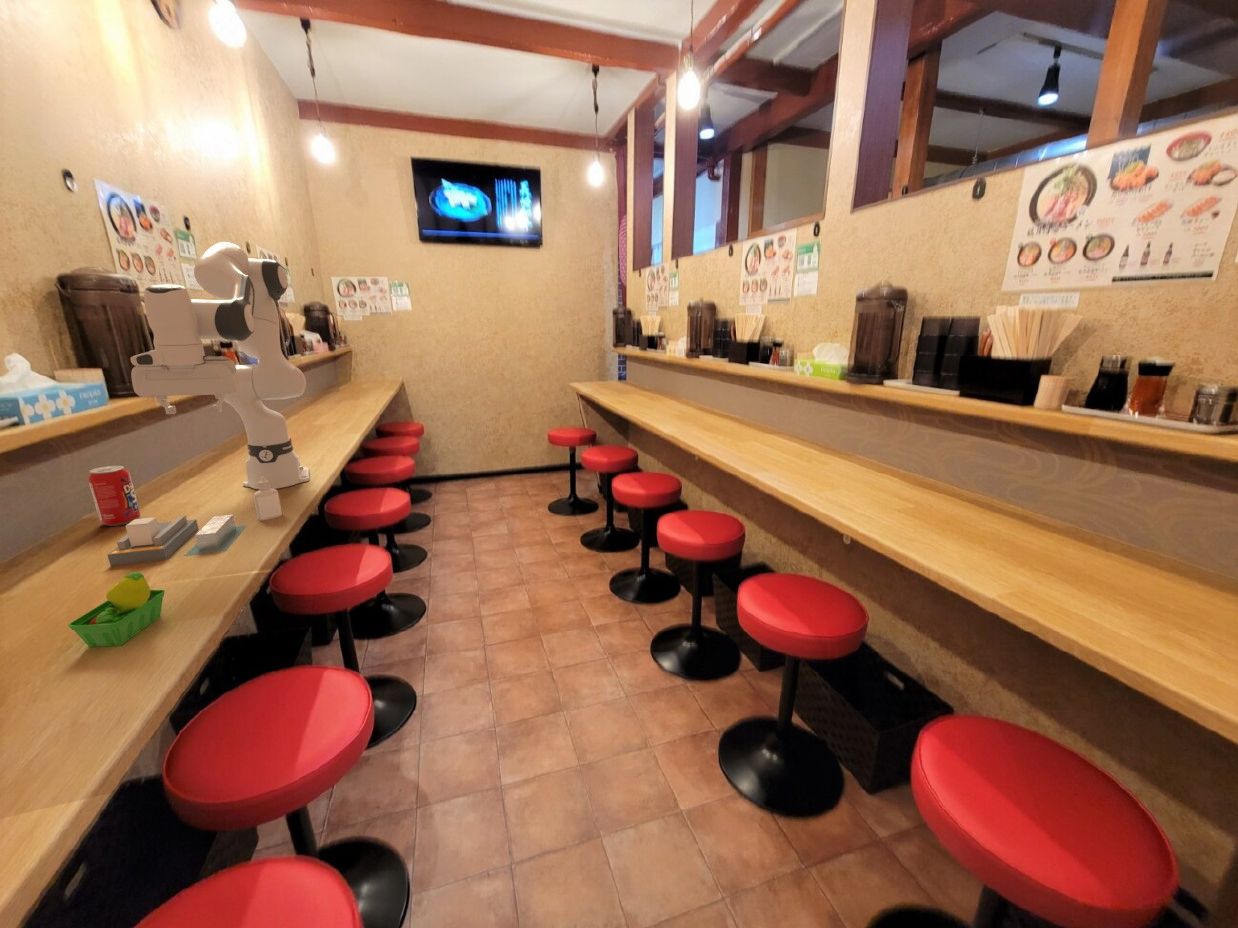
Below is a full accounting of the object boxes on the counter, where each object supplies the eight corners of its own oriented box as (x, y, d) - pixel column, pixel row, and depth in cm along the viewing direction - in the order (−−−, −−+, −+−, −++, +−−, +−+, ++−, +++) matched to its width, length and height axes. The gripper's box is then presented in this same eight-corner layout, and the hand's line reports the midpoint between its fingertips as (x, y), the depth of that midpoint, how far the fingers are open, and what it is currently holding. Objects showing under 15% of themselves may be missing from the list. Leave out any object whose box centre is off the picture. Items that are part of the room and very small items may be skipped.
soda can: (92, 526, 132) (76, 472, 127) (124, 515, 139) (110, 463, 135) (118, 528, 131) (103, 474, 126) (149, 517, 138) (135, 465, 134)
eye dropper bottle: (280, 519, 139) (272, 478, 135) (256, 522, 137) (248, 480, 133) (283, 513, 143) (276, 473, 139) (260, 516, 141) (252, 475, 137)
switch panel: (150, 534, 128) (146, 516, 126) (198, 529, 131) (194, 512, 130) (110, 567, 112) (104, 546, 110) (166, 560, 115) (161, 540, 113)
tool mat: (211, 529, 131) (210, 528, 131) (247, 526, 134) (247, 525, 134) (184, 556, 117) (184, 555, 117) (225, 552, 119) (225, 551, 119)
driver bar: (217, 530, 130) (214, 516, 129) (235, 528, 132) (232, 514, 130) (198, 550, 119) (195, 534, 118) (219, 548, 121) (215, 532, 120)
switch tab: (140, 539, 118) (134, 518, 116) (161, 537, 119) (156, 517, 118) (131, 546, 114) (125, 525, 113) (153, 544, 116) (147, 523, 114)
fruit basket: (129, 613, 95) (114, 560, 92) (180, 612, 96) (166, 558, 93) (73, 652, 84) (53, 593, 81) (130, 650, 85) (112, 591, 82)
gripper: (237, 354, 126) (248, 408, 131) (135, 355, 119) (150, 411, 124) (229, 357, 121) (241, 413, 125) (121, 358, 114) (137, 417, 118)
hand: (195, 412), depth 124 cm, fingers open, 8 cm apart
